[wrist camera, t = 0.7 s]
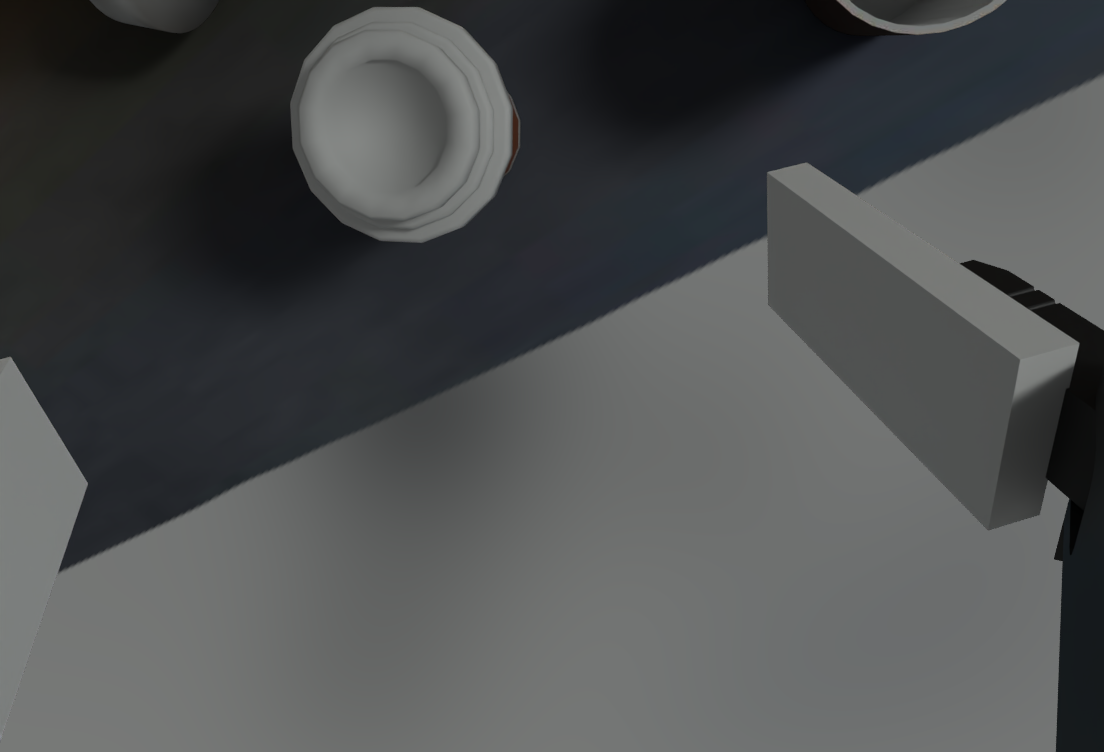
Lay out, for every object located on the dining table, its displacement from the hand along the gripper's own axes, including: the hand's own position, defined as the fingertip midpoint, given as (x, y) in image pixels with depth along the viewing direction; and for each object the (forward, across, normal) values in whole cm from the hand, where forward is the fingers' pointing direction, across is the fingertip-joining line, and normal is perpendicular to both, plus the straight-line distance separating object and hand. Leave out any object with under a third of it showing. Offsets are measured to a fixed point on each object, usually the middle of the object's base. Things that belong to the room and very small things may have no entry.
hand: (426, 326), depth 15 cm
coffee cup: (+30, +4, -6) cm, 31 cm away
